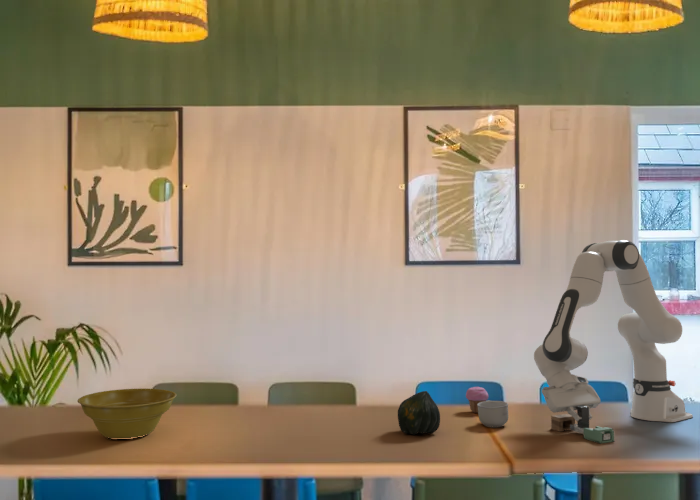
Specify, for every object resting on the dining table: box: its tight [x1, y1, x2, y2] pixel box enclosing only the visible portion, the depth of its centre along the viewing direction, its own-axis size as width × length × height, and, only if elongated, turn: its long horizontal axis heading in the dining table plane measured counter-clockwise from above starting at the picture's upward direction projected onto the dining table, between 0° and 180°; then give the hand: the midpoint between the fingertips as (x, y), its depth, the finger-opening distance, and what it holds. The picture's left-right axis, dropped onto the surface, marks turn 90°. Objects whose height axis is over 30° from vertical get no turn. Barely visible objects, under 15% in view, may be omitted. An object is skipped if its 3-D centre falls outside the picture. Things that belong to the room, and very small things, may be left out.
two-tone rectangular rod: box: [569, 406, 610, 440], centre depth 211 cm, size 3×15×9 cm, turn 23°
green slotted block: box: [583, 425, 615, 444], centre depth 207 cm, size 6×7×4 cm
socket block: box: [550, 413, 576, 432], centre depth 222 cm, size 7×4×4 cm, turn 113°
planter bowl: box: [77, 388, 177, 438], centre depth 219 cm, size 32×32×13 cm
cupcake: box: [465, 386, 489, 414], centre depth 251 cm, size 9×9×10 cm
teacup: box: [477, 399, 509, 428], centre depth 230 cm, size 14×11×8 cm
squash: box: [397, 390, 441, 436], centre depth 219 cm, size 14×15×15 cm
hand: (584, 419), depth 213 cm, fingers closed on two-tone rectangular rod, 3 cm apart
